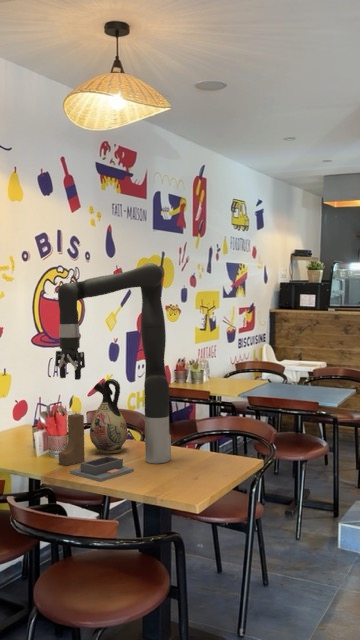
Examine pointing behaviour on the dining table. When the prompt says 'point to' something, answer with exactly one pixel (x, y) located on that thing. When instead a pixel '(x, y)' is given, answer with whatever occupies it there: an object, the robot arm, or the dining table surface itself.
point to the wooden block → (74, 441)
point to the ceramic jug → (108, 421)
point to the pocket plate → (102, 469)
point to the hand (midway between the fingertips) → (70, 378)
